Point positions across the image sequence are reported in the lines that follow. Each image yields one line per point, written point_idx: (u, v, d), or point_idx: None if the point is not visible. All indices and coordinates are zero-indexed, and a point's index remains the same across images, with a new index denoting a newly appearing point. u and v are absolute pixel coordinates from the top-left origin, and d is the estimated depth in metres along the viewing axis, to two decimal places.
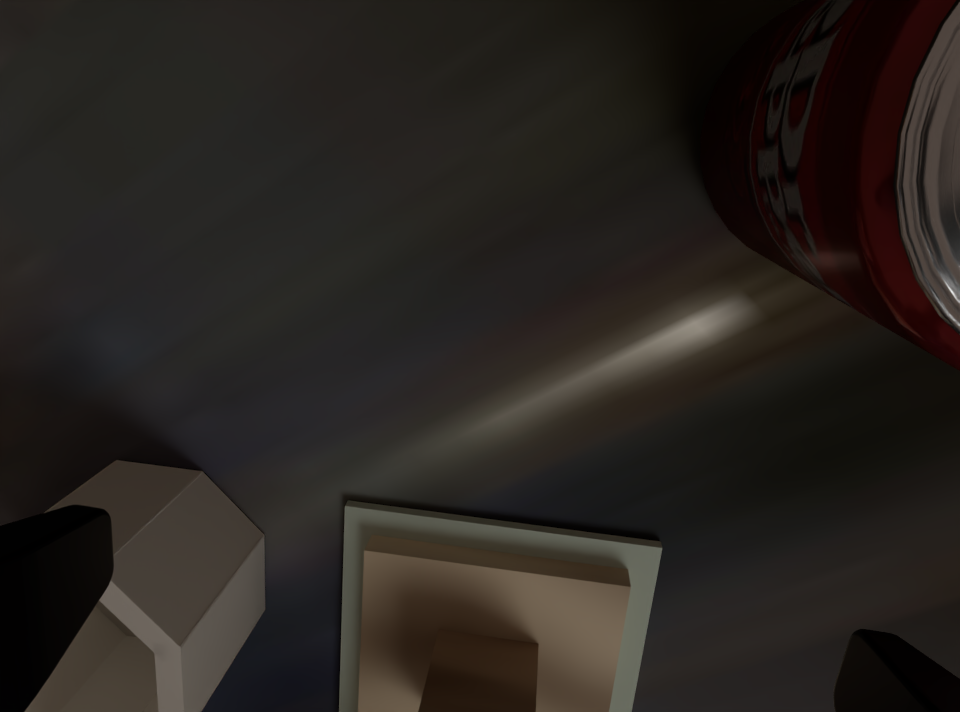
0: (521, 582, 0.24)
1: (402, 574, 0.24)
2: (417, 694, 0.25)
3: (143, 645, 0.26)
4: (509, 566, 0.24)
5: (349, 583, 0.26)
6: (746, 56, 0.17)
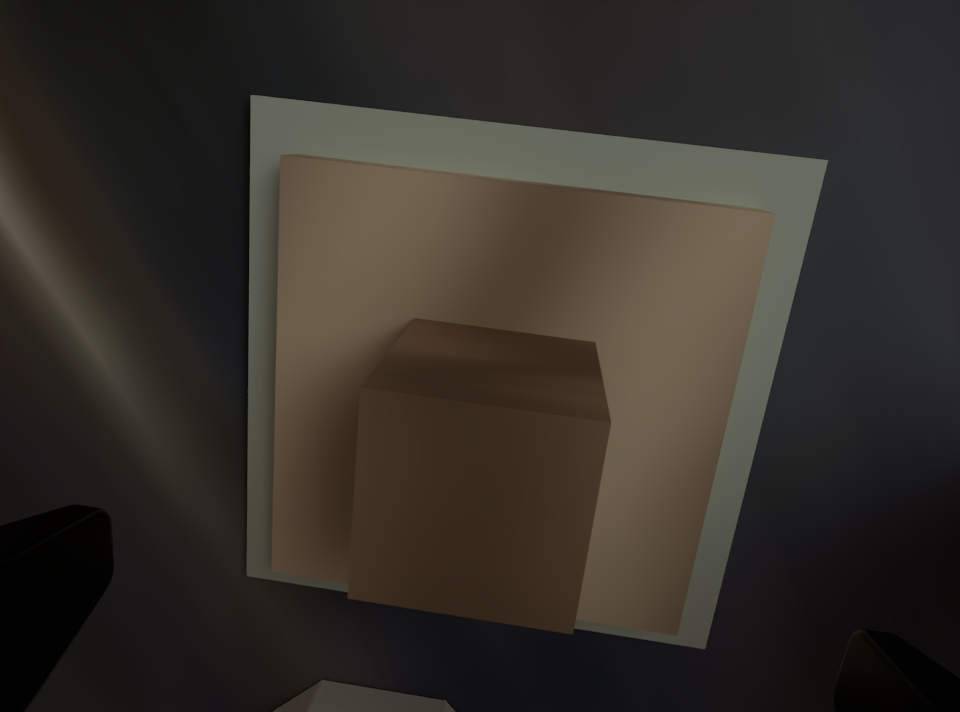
0: (296, 343, 0.14)
1: (305, 522, 0.15)
2: None
3: None
4: (280, 359, 0.14)
5: None
6: None
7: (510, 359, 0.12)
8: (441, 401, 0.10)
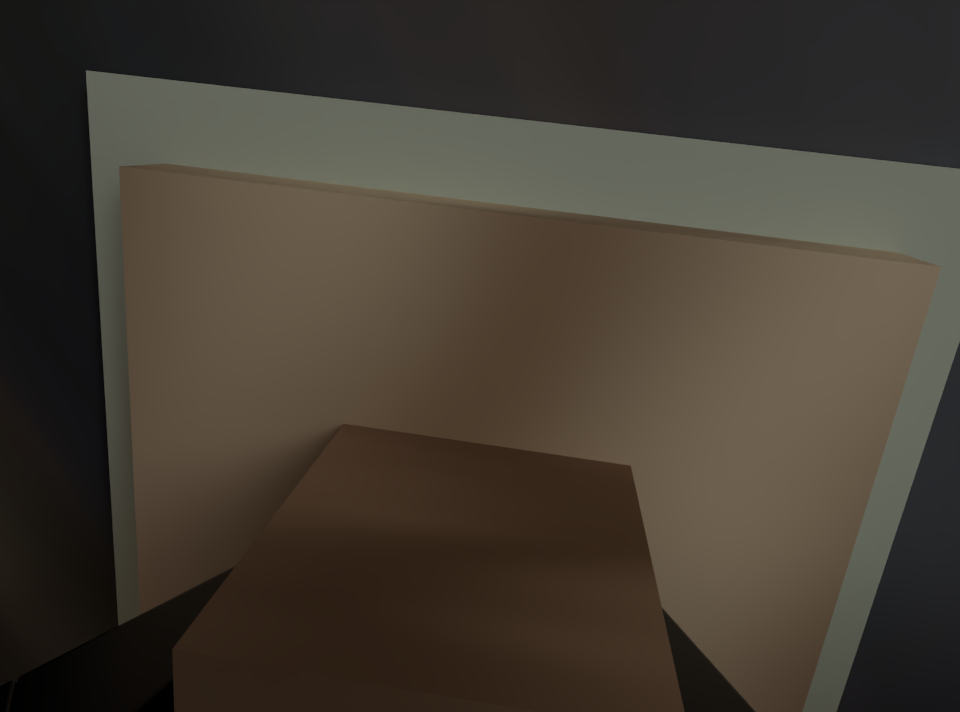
0: (162, 457, 0.09)
1: None
2: None
3: None
4: (143, 477, 0.09)
5: None
6: None
7: (489, 524, 0.07)
8: (335, 682, 0.05)
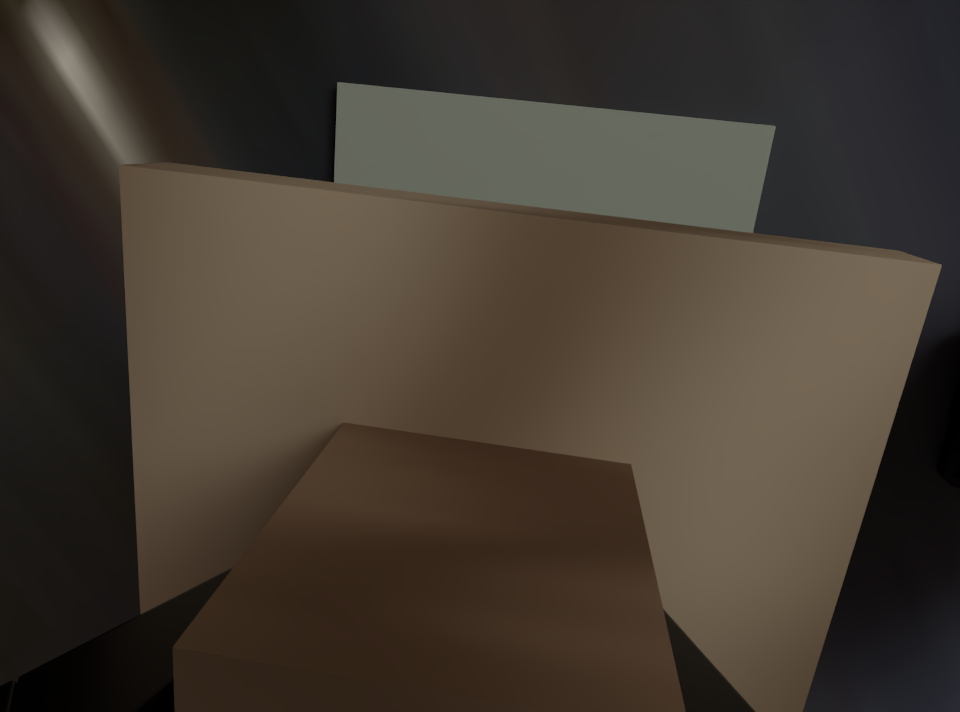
0: (162, 456, 0.09)
1: None
2: None
3: None
4: (143, 477, 0.09)
5: None
6: None
7: (490, 523, 0.07)
8: (338, 680, 0.05)
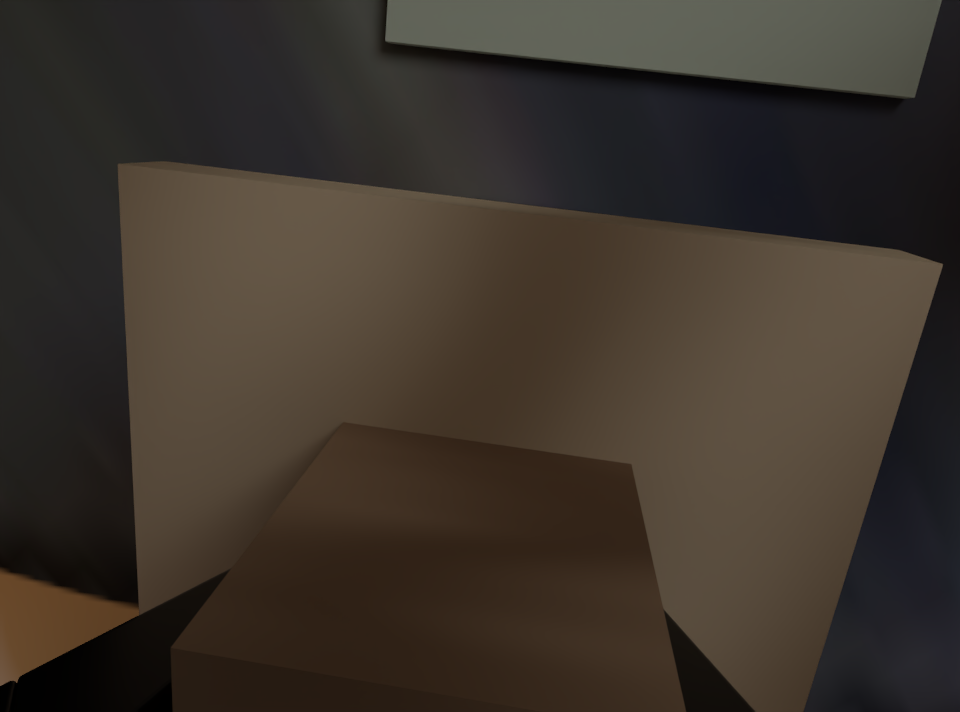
0: (161, 456, 0.09)
1: None
2: None
3: None
4: (142, 476, 0.09)
5: (532, 43, 0.15)
6: None
7: (490, 523, 0.07)
8: (336, 681, 0.05)
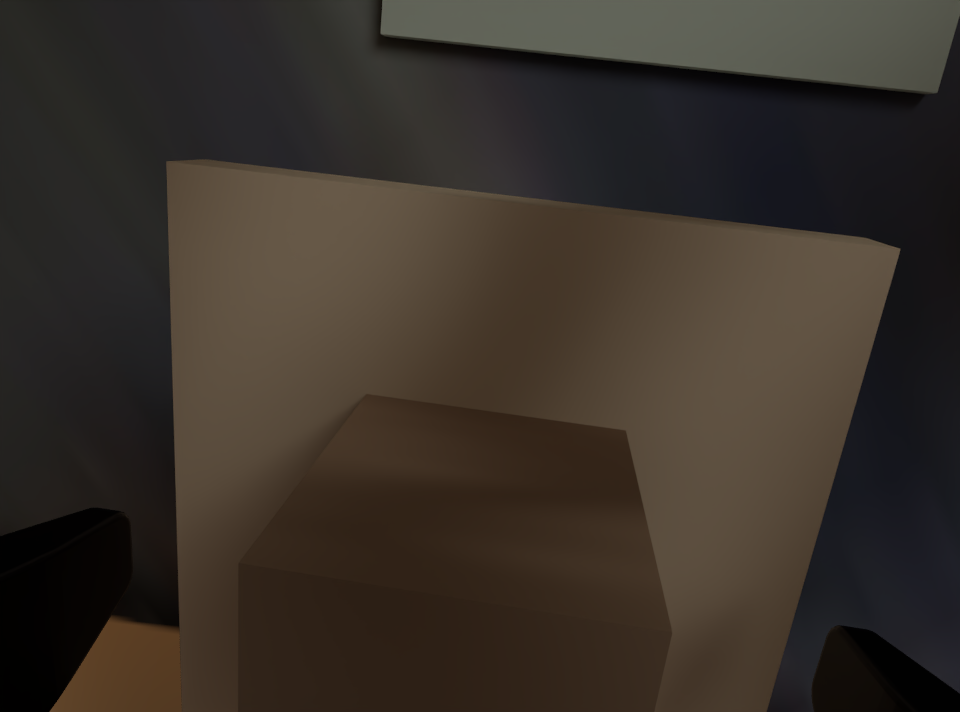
0: (201, 425, 0.10)
1: (224, 662, 0.11)
2: None
3: None
4: (182, 445, 0.10)
5: (534, 36, 0.14)
6: None
7: (500, 475, 0.08)
8: (377, 590, 0.06)
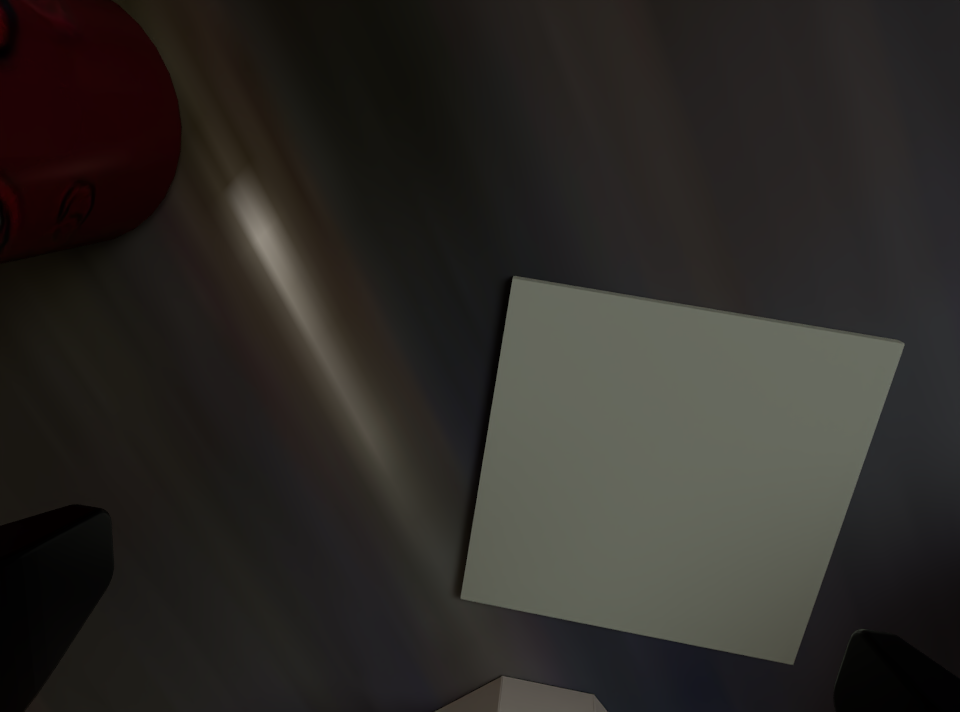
0: None
1: None
2: None
3: None
4: None
5: (554, 610, 0.23)
6: None
7: None
8: None
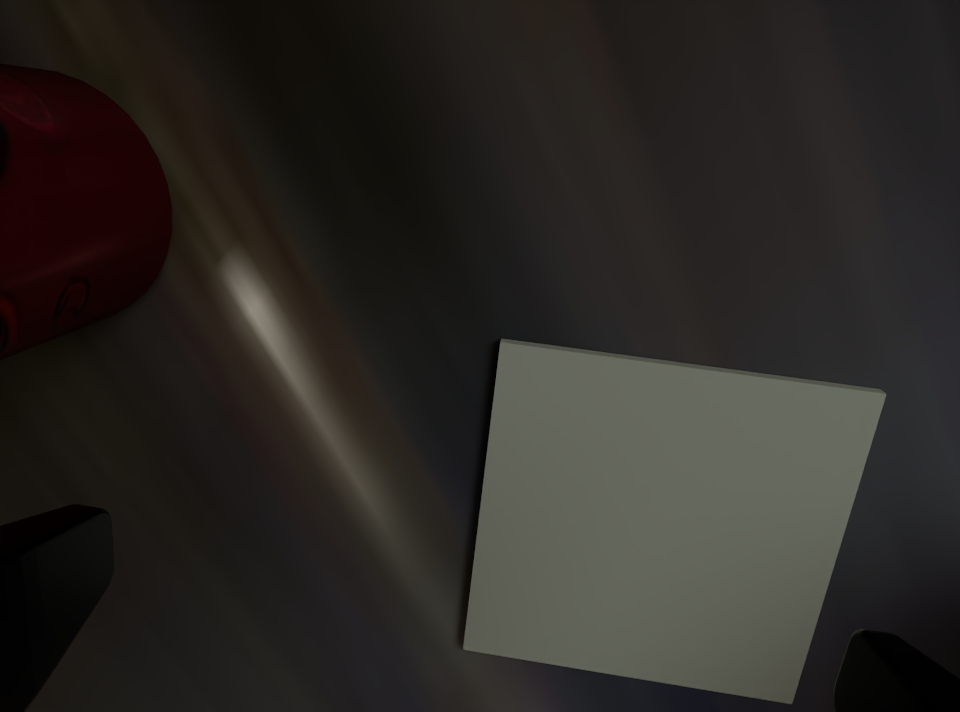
0: None
1: None
2: None
3: None
4: None
5: (555, 658, 0.24)
6: None
7: None
8: None
